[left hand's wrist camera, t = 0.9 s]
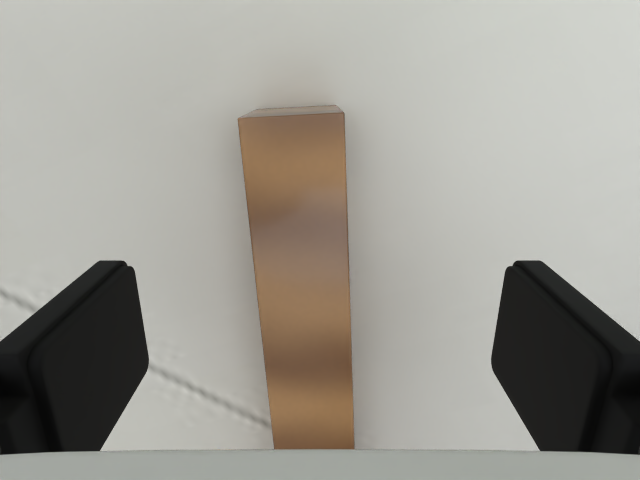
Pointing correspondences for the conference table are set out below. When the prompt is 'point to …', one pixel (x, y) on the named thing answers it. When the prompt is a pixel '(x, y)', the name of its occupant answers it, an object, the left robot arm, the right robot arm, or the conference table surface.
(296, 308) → the bar
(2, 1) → the conference table surface
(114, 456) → the left robot arm
